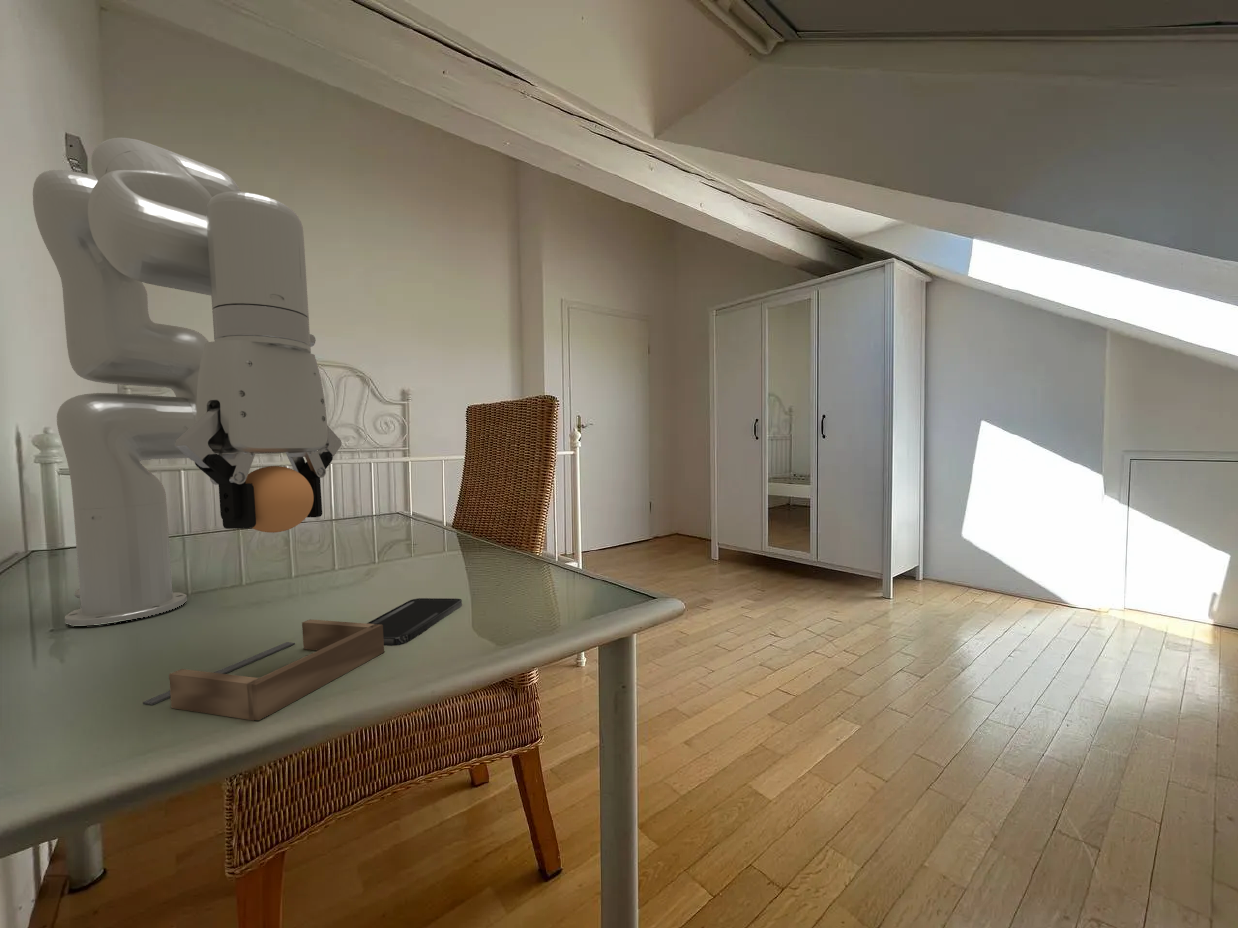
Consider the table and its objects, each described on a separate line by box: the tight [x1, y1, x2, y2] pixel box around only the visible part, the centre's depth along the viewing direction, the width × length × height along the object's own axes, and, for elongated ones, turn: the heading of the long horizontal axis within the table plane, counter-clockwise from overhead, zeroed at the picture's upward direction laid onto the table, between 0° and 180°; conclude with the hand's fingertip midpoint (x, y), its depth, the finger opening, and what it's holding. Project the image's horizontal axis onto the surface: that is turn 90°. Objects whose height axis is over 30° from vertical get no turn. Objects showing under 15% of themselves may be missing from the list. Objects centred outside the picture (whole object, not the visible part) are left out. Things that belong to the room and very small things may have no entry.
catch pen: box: [168, 618, 385, 721], centre depth 49 cm, size 10×14×3 cm
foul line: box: [142, 641, 296, 706], centre depth 51 cm, size 1×14×1 cm, turn 164°
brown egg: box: [246, 465, 314, 534], centre depth 49 cm, size 6×6×6 cm
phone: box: [366, 597, 463, 647], centre depth 64 cm, size 8×1×15 cm
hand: (275, 520), depth 49 cm, fingers closed on brown egg, 6 cm apart
